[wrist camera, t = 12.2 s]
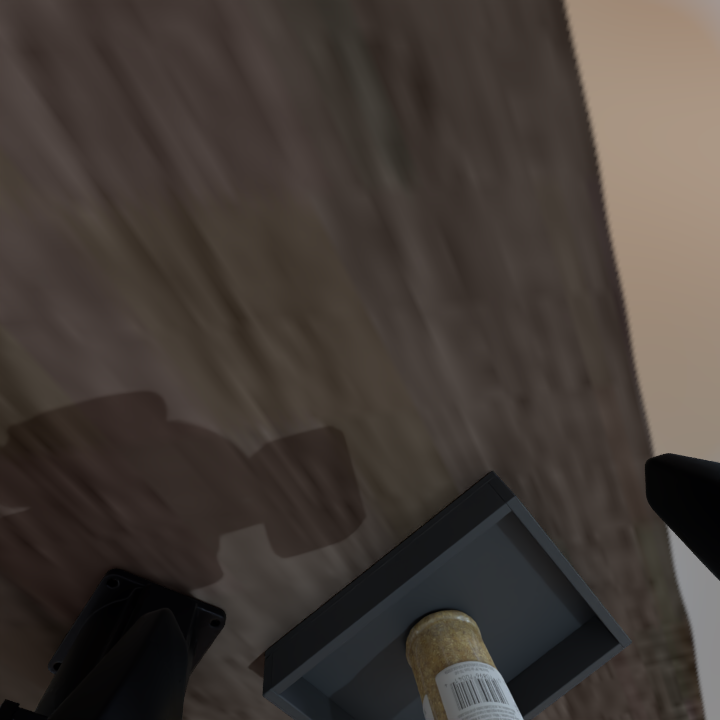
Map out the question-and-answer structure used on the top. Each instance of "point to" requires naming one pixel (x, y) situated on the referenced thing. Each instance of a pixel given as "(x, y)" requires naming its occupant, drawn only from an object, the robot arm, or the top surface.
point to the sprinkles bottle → (457, 670)
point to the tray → (448, 592)
